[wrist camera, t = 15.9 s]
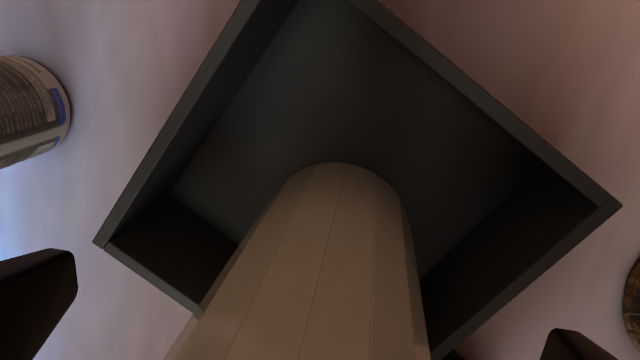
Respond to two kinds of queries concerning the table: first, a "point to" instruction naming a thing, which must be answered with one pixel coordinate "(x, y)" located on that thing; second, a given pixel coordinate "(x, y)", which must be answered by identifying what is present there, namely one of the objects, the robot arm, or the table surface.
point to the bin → (352, 160)
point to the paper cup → (316, 278)
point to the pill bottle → (29, 110)
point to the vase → (633, 306)
